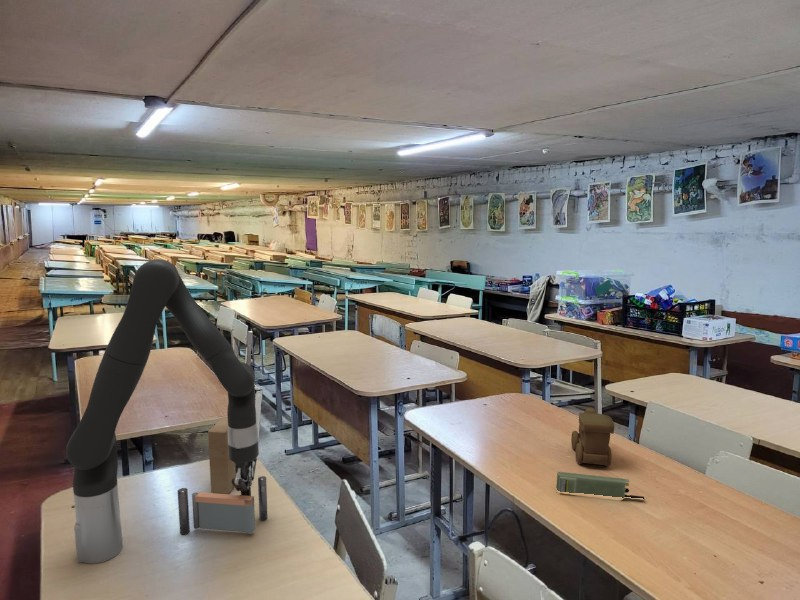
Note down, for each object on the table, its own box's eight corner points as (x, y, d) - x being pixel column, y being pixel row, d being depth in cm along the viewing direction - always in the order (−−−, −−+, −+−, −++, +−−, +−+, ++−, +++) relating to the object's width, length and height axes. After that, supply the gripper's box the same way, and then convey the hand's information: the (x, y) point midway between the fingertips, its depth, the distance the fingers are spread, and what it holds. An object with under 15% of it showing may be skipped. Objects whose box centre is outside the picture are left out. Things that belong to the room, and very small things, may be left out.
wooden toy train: (613, 473, 172) (617, 425, 169) (577, 470, 174) (580, 422, 171) (601, 447, 191) (605, 403, 189) (569, 444, 193) (572, 401, 191)
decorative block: (225, 475, 167) (222, 416, 164) (242, 476, 167) (240, 417, 163) (209, 493, 156) (206, 430, 153) (228, 495, 156) (225, 431, 152)
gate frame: (179, 536, 136) (177, 493, 134) (180, 530, 138) (177, 488, 136) (268, 520, 143) (266, 480, 141) (267, 515, 146) (265, 475, 144)
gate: (192, 529, 137) (190, 495, 136) (196, 524, 139) (194, 491, 138) (252, 533, 136) (251, 500, 134) (255, 529, 138) (253, 496, 136)
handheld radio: (555, 489, 162) (642, 499, 157) (556, 495, 159) (645, 505, 154) (557, 469, 160) (644, 479, 155) (558, 475, 157) (647, 485, 152)
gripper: (238, 428, 143) (241, 487, 146) (218, 451, 130) (222, 514, 133) (265, 429, 142) (267, 487, 145) (248, 452, 129) (251, 515, 132)
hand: (246, 500), depth 139 cm, fingers closed
